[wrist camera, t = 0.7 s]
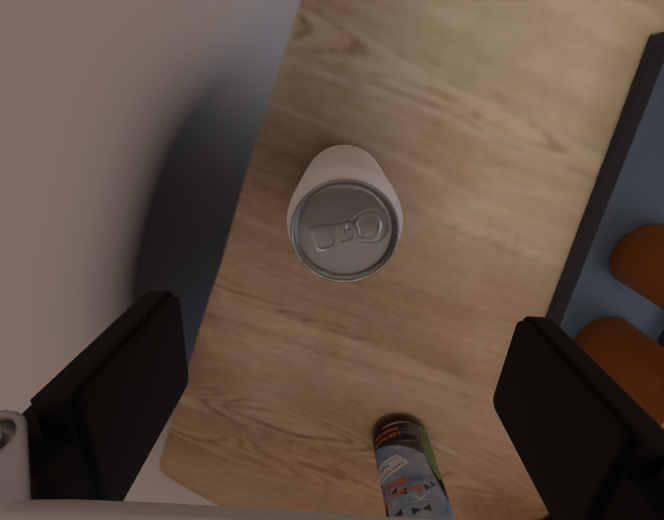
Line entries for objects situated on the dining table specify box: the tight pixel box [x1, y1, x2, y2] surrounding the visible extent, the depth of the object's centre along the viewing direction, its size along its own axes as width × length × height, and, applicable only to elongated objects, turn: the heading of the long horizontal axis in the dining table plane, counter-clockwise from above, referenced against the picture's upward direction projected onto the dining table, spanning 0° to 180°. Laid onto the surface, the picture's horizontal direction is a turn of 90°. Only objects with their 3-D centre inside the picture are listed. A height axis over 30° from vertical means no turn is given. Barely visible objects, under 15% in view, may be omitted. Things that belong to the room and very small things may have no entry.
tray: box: [546, 32, 664, 348], centre depth 30 cm, size 32×12×2 cm, turn 176°
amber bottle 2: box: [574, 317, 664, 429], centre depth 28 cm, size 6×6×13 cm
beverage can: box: [373, 421, 455, 520], centre depth 35 cm, size 6×7×12 cm
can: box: [287, 145, 403, 283], centre depth 24 cm, size 6×6×12 cm
